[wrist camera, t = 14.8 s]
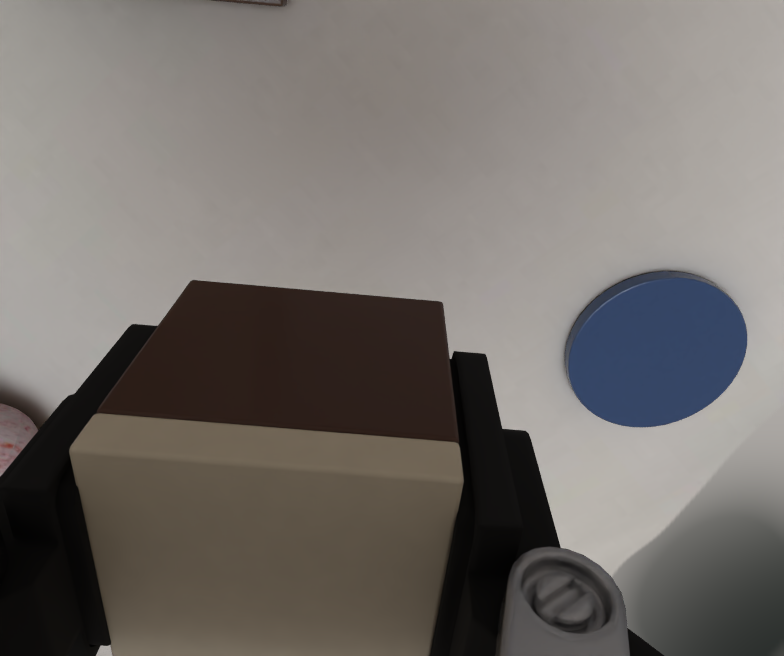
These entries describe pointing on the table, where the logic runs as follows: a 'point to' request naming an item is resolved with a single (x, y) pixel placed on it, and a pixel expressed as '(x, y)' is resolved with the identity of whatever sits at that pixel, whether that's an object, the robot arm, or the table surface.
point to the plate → (655, 349)
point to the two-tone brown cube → (276, 477)
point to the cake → (260, 2)
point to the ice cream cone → (13, 434)
